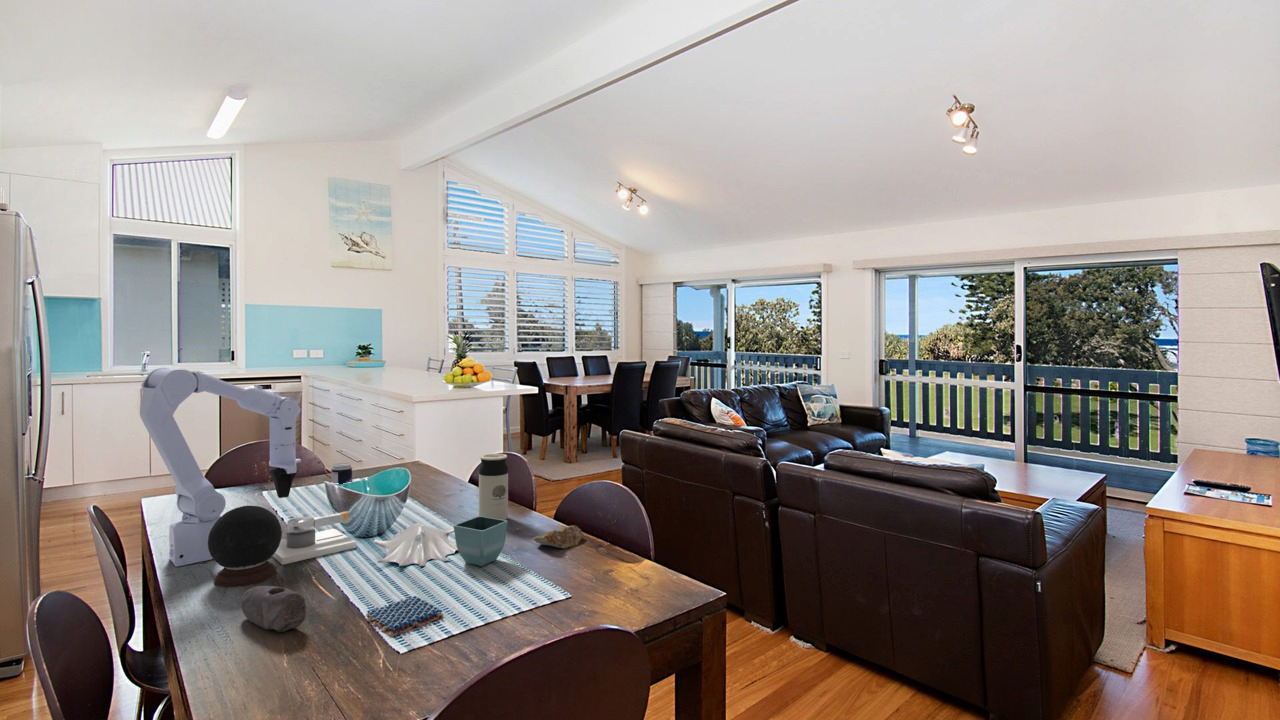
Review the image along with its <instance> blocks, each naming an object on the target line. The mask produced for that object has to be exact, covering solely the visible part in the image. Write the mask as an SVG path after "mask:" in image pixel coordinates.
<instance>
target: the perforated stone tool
mask: <svg viewBox="0 0 1280 720" xmlns="http://www.w3.org/2000/svg"><path fill="white" fill-rule="evenodd" d="M240 603H241V604H240V607H241V610H242V613H243V615H244V617H245V618H246V619H247V620H248V621H249V622H250V623H254V624H255V625H256V626H258V627H260V628H262V629H265V630H275V632H278V633H284V632H287V631H288V630H292V629H295V628H298V627H299V626H300V625H301V624H302V623H304V621H305V620H306V618H307V617H306V616H307V605H306V599H305V598H304V597H303V596H302V594H300V593H299V592H296V591H294V590H291V589H289V588H286V587H283V586H282V587H281V586H274V585H273V586H272V585H258V586H253V587H250V588H249V589H247V590H246V591H245V592H244V593H243V595H242V597H241V601H240Z"/></svg>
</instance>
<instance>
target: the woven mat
mask: <svg viewBox="0 0 1280 720" xmlns="http://www.w3.org/2000/svg"><path fill="white" fill-rule="evenodd" d="M366 612H367V613H366V615H365V617H366V618H364V620H365V621H368V622H369V623H370V625H373V626H376V627H377V628H380V630H381V631H382V632H385V631H386V632H385V633H384V634H385V635H388V636H389V637H393V636H396V635H398V634H401V633H403V632H407V631H409V630H412V629H414V628H417V627H420V626H422V625H425V624H428V623H430V622H433V621H436V620H437V619H441V618H443V616H444V613H443V610H442V609H440V607H437V606H436V605H435V604H432V603H431V602H428V601H427V600H424V599H422V598H421V597H420V596H417V595H414V596H412V597H411V596H408V598H405V599H403V598H402V599H400V600H399V601H397V602H395V601H394V602H392V603H390V604H388V605H387V604H385V605H383V606H382V607H380V608H379V607H376V608H375V609H372V610H370V609H369V610H367V611H366Z"/></svg>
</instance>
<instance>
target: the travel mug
mask: <svg viewBox="0 0 1280 720" xmlns="http://www.w3.org/2000/svg"><path fill="white" fill-rule="evenodd" d="M479 459H480V461H481V463H480V465H479V467H478V516H484V517H489V518H495V519H502V520H506V521H507V519H508V518H509V466H508V464H507V462H506V461H507V459H508V455H507V454H505V453H487V454H485V453H484V454H482V455H480V456H479Z"/></svg>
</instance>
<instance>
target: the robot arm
mask: <svg viewBox="0 0 1280 720" xmlns="http://www.w3.org/2000/svg"><path fill="white" fill-rule="evenodd" d="M140 385H141V390H142V395H141V402H140V409H139V416H140V419H141V422H142V424H143V425H144V427H145V429H146V430H147V433H148V434H149V436H150V438H151V440H152V442H153V443H154V445H155V447H156V450H157V451H158V453H159V455H160V457H161V459H162V460H163V462H164V465H165V466H166V469H167V470H168V472H169V474H170V476H171V477H172V480H173V481H174V483H175V488H174V493H175V495H176V506H177V510H179V512H181V513H182V517H181V520H180V521H178V522H174V523H171V524H170V525H169V533H168V534H169V539H168V540H169V550H168V551H169V554H168V555H169V557H168V558H169V560H170V561H171V562H172V563H173V565H174V566H175V567H177V568H178V567H181V566H187V565H191V564H195V563H201V562H202V563H203V562H205V561H211V560H214V559H213V558H212V557H211V555H210V552H209V549H208V536H209V533H210V530H211V528H212V527H213V525H214V524H215V522H216V521H217V520H218V519H219V518H220V517H221V515H222V513H223V512H224V511H225V508H226V506H227V505H226V498H225V496H224V495H223V494H222V493H220V492H218V491H217V490H216V489H215V487H214V485H213V484H212V483H211V482H210V481H209V480H208V479H207V478H206V477H205V476H204V474H203V473H202V471H201V469H200V466H199V465H198V463H197V460H196V458H195V456H194V455H193V452H192V451H191V448H190V446H189V445H188V443H187V441H186V439H185V437H184V435H183V433H182V431H181V429H180V427H179V425H178V422H177V421H176V420H175V419H176V418H175V417H174V414H175V412H176V410H177V409H178V407H179V406H180V405H181V404H182V403H183V402H185V400H187V399H188V397H189V398H190V396H191V395H192V394H193V393H194V394H195V393H196V394H199V393H203V392H206V393H209V394H213V395H216V396H220V397H223V398H227V399H231V400H234V401H236V402H237V405H238V406H239V407H240V408H241V409H244V410H246V411H247V410H248V411H251V412H252V413H253V412H254V413H257V414H260V415H264V416H266V417H267V418H268V419H269V462H268V466H269V467H272V468H273V467H274V469H269V470H268V474H269V475H270V477H271V479H272V481H273V484H274V487H275V491H276V495H277V498H279V499H284V498H289V496H290V494H291V493H290V492H291V488H292V484H293V481H294V478H295V477H296V475H297V473H298V469H297V468H298V467H297V464H299V463H301V462H302V459H301V458H296V455H297V454H296V452H297V451H296V450H297V449H296V447H297V446H296V444H297V443H296V440H297V438H296V436H297V435H296V434H297V433H296V432H297V431H296V424H297V418H298V416H299V415H300V413H301V410H302V409H301V407H299V403H298V402H297V400H295V399H294V398H292V397H286V396H281V393H280V392H278V391H275V392H271V391H268V390H266V389H263V386H261V385H259V384H255V385H248V386H246V387H241V386H237V385H235V384H232V383H230V382H227V381H225V380H222V379H220V378H217V377H214V376H211V375H209V374H205V373H201V372H197V371H190V370H188V369H185V368H178V369H177V368H167V367H158V368H155V369H153V370H152V371H151V372H149V373H148V375H147V376H146V378H145V379H144V380H143V382H141V384H140Z"/></svg>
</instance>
